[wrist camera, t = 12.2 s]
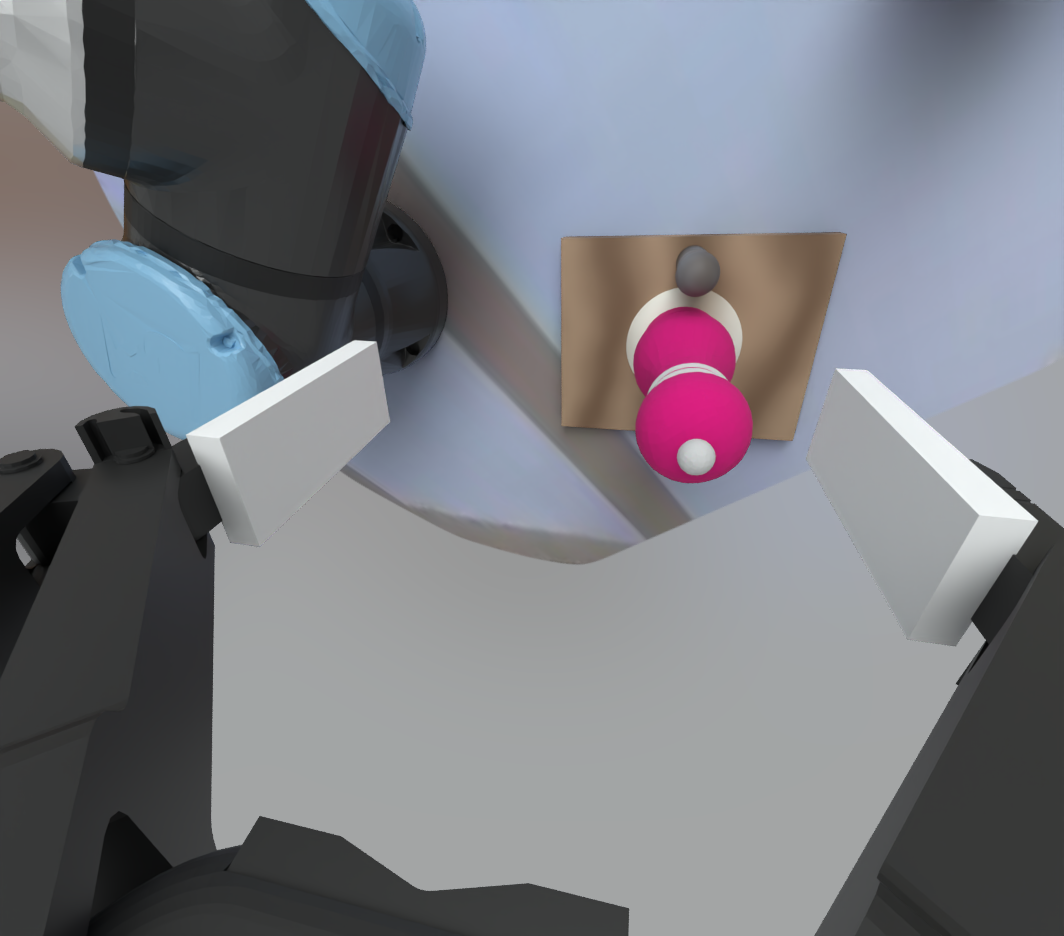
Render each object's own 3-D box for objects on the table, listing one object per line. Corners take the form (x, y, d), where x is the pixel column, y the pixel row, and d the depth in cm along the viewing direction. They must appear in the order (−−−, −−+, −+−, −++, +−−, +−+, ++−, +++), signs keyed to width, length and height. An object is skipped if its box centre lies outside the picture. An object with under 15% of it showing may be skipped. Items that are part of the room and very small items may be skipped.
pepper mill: (739, 368, 40) (800, 506, 23) (653, 399, 42) (650, 543, 26) (711, 283, 37) (757, 367, 20) (622, 323, 40) (595, 425, 23)
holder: (564, 419, 47) (547, 461, 40) (564, 236, 39) (543, 248, 32) (788, 433, 43) (814, 482, 36) (839, 232, 35) (885, 244, 28)
